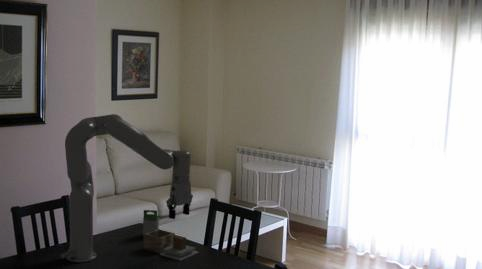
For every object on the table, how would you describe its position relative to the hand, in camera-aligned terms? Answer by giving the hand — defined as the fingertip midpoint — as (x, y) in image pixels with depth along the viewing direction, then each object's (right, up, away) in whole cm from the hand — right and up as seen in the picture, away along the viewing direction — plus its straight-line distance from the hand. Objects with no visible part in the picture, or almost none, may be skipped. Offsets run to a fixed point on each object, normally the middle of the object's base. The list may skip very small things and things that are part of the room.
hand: (179, 216), depth 246 cm
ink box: (-17, -14, +27) cm, 35 cm away
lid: (0, -16, +2) cm, 16 cm away
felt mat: (0, -17, +2) cm, 17 cm away
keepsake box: (-10, -16, +9) cm, 21 cm away
